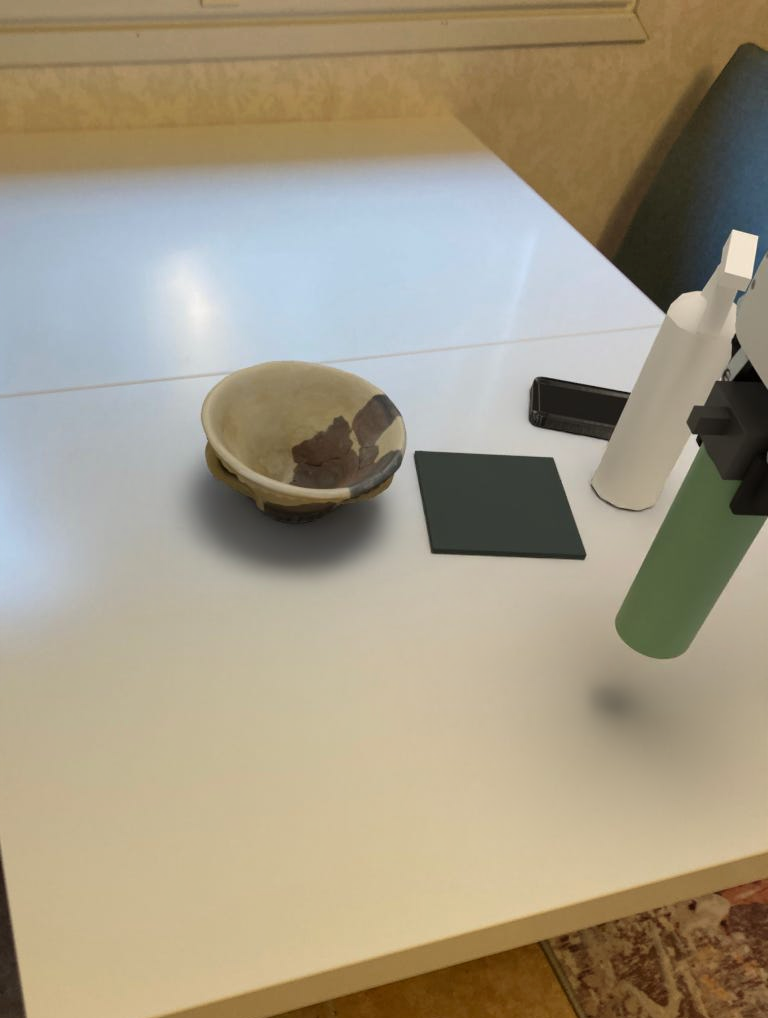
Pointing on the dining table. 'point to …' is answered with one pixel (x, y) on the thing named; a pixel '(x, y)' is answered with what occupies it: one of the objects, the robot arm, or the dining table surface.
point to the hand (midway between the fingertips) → (737, 475)
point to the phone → (576, 407)
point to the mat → (496, 505)
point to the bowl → (302, 438)
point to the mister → (699, 526)
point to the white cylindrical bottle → (675, 382)
